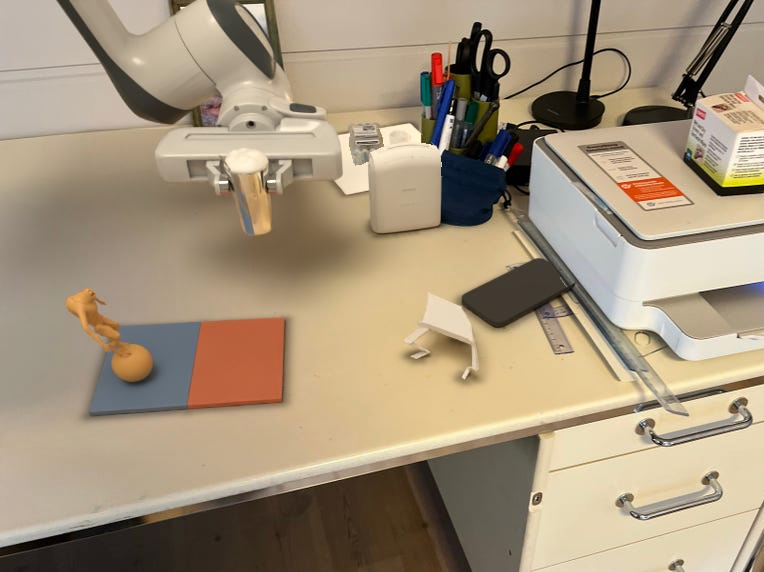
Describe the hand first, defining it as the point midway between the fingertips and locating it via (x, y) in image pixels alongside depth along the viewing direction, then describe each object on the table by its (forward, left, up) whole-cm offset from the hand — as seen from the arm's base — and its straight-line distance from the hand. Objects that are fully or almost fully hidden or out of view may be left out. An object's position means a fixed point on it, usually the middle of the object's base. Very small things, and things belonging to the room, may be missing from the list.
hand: (248, 189), depth 80 cm
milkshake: (0, +1, -6) cm, 6 cm away
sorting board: (-7, -9, -17) cm, 20 cm away
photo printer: (+19, +19, -17) cm, 31 cm away
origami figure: (+21, -10, -17) cm, 28 cm away
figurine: (-14, -11, -16) cm, 24 cm away
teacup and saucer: (+17, +41, -17) cm, 47 cm away
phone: (+32, +1, -17) cm, 36 cm away
